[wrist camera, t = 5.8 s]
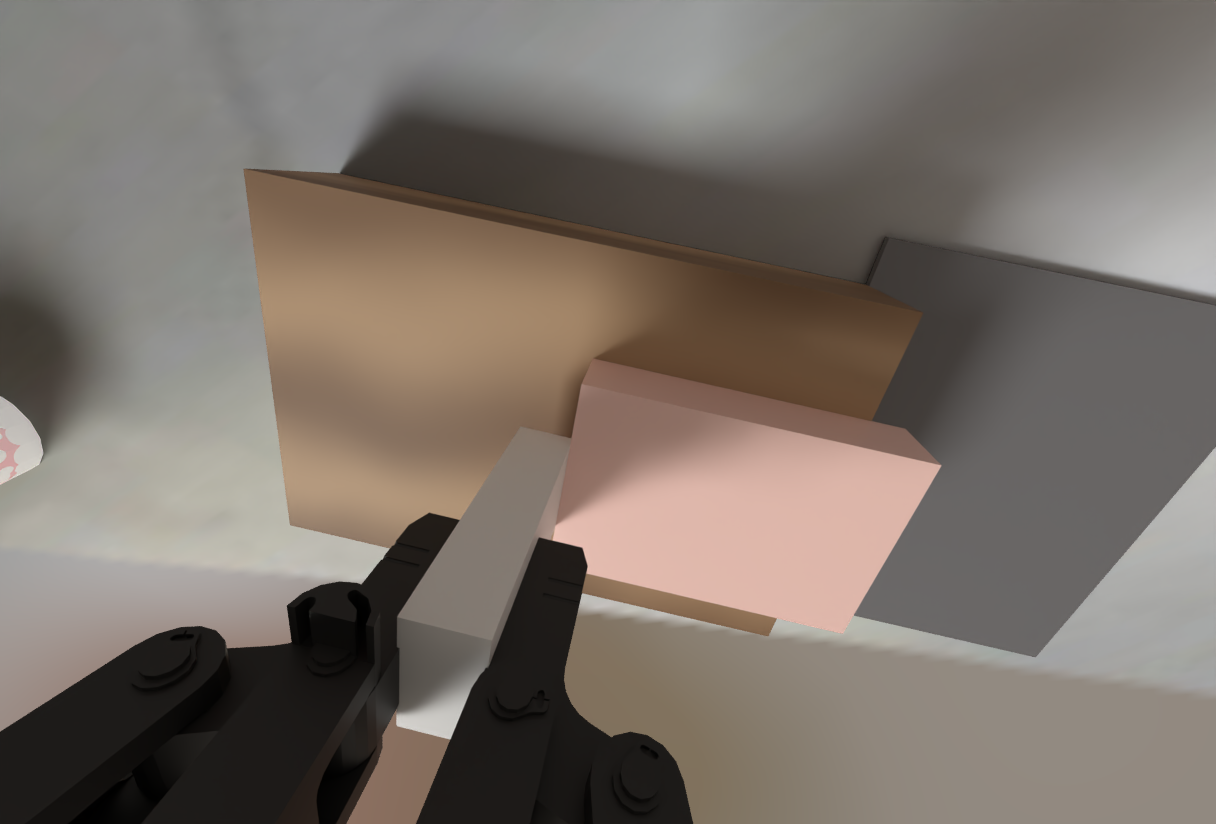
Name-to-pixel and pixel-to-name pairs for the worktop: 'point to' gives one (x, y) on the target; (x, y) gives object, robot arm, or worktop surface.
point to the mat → (1033, 437)
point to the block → (735, 495)
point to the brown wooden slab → (513, 344)
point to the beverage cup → (17, 442)
